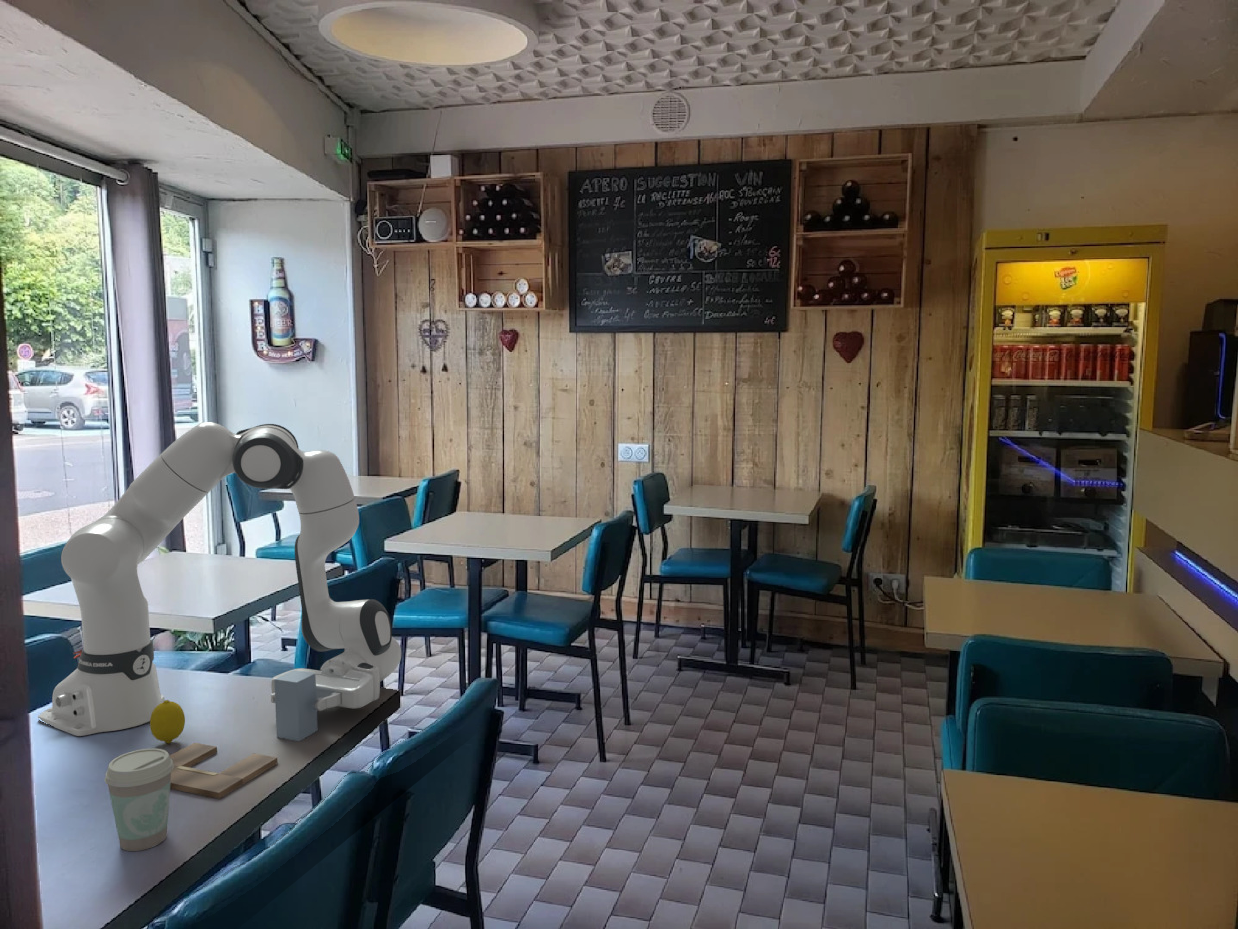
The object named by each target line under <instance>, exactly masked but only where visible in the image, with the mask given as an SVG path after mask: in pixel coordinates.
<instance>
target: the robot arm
mask: <svg viewBox="0 0 1238 929" xmlns="http://www.w3.org/2000/svg"><path fill="white" fill-rule="evenodd" d="M340 460H341V459H340V458H339V457H338V456H337V454H335V453H333V452H332V451H329V450H323V449H317V450H311V451H303V450H301V449H299V443H298V441H297V438H296V436H295V435H294V434H293V433H292V432H291V431H290V430H289V429H288V428H286V427H284V426H282V425H279V424H275V423H265V424H264V423H263V424H258V425H256V426H251V427H250V428H245V429H242V430H238V431H237V432H236V433H233V432H232V431H231V430H229V429H228V428H226V427H225V426H223V425H222V424H219V423H216V422H212V421H204V422H201V423H198V424H197V425H195V426H194V427H192V428H191V429H188V430H187V431H186V432H185V433H183V434H182V435H180V436H179V437H177V439H176V440H174V441H173V442H171V444H170V445H169V446H167V447H166V448H165V449H164V450H163V451H162V452H161V453H160V454H159V455H158V456H157V457H156V458H155V459H154V460H153V461H152V462H151V463H150V464H149V465H148V466H147V467H146V468H145V469H144V470H143V471H142V472H141V473H140V474H139V475H138V476H137V477H136V478H135V479H133V481H132V482H131V483H130V484H129V487H128V488H127V489H126V491H125V492H124V493H123V494H122V495H121V497H120V498H119V499H118V500H117V501H116V502H115V504H114V505H113V506H111V508H110V509H109V510H108V511H107V512H106V513H105V514H104V515H103V516H101V517H100V518H99V519H96V521H93V522H92V523H89V524H87V525H84V526H82V527H80V528H79V529H78V530H76V531H75V532H74V533H73V534H72V535H71V536H70V537H69V539H68V540H67V542H66V543H65V545H64V547H63V549H62V551H61V555H60V559H61V560H60V562H61V566H62V569H63V571H64V572H65V573H66V575H67V576H68V577H69V578H70V580H71V583H72V586H73V589H74V592H75V595H76V598H77V601H78V602H77V603H78V605H79V609H80V617H81V630H82V643H83V648H82V649H81V650H78V651H75V652H73V655H75V654H77V655H75V656H74V657H73V659H77V658H79V659H78V662H77V666H76V669H75V670H73V672H71V673H70V674H69V675H68V676H66V677H65V678H64V679H62V681H61V682H59V683H58V684H57V685H56V686H55V687H54V689H53V692H52V698H51V699H52V702H51V703H52V704H51V707H49V708H47V709H45V710H44V711H43V712H41V713H39V715H38V718H40V719H41V720H42V721H44V722H45V723H47V724H50V725H52V726H54V727H53V728H55V729H57V730H61V731H63V732H65V733H68V734H70V735H73V736H75V737H81V736H88V735H89V736H90V735H92V734H97V733H103V732H104V733H106V732H112V731H121V730H125V729H130V728H135V727H137V726H141V725H143V724H146V723H150V719H151V714H152V712H153V710H154V709H155V708H156V707H157V706H158V705H159V704H161V703H163V702H164V701H165V695H164V694H161V689H160V688H161V687H160V683H159V677H158V672H157V671H158V670H157V667H156V664H155V662H154V660H155V646H154V642H153V640H152V639H151V630H150V629H151V628H150V613H149V611H150V610H149V602H148V600H147V598H146V597H145V596H144V593H143V590H142V587H141V583H140V578H139V575H138V574H139V573H138V567H139V566H138V565H140V564H141V563H142V562H144V561H145V560H146V559H147V558H148V557H149V556H150V555H151V554H152V553H153V552H154V551H155V549H156V548H157V547H158V546H160V544H162V542H163V541H164V540H165V539H166V537H167V536H168V535H169V534H170V533H171V532H172V531H173V530H174V529H175V528H176V527H177V525H178V524H179V523H180V522H181V521H182V520H183V519H184V518H185V517H186V516H187V515H188V514H189V513H190V512H191V511H192V510H193V509H194V508H195V507H196V506H197V505H198V504H199V503H200V502H201V501H202V500H203V499H204V498H205V497H206V496H207V495H208V494H209V493H211V491H212V490H213V489H214V488H215V487H216V486H217V484H219V483H220V481H222V480H223V479H224V478H226V477H227V476H228V475H231V474H234V473H235V475H236V476H237V477H238V478H239V480H240V481H241V482H243V483H244V484H245V485H248V487H249V486H250V487H252V488H255V489H256V488H257V489H265V490H270V489H271V490H272V489H273V490H274V489H275V490H290V492H291V493H292V496H293V498H294V502H295V504H296V509H297V512H298V516H299V520H300V533H299V535H298V536H297V537H296V539H295V542H294V559H295V561H294V563H295V569H296V575H297V577H296V578H297V582H298V583H297V584H298V591H299V598H300V606H301V627H300V629H301V634H302V637H303V639H304V641H305V642H306V643H307V645H308V646H309V647H310V648H311V649H313V650H314V651H316V652H328V651H333V650H339V649H344V651H343V652H342V653H340V654H338V655H336V656H334V657H332V658H330V659H328V660H326V661H325V662H324V663H323V664H322V665H321V666H320V669H319V670H317V669H311V668H303V667H302V668H301V667H300V668H299V667H298V668H294V669H291V670H287V671H285V672H282V673H280V674H277V675H275V676H273V677H272V678H271V681H270V687H271V695H270V703H272V704H275V683H274V679H276V678H278V677H280V676H282V675H284V674H286V673H288V672H291V671H293V670H295V671H302V672H309V673H315V677H316V700H314V702H313V705H314V706H313V709H314V710H317V711H323V710H326V709H329V708H334V707H340V708H341V707H342V708H348V709H361V708H363V707H364V706H367V705H368V704H370V703H371V702H374V701H377V700H378V699H379V698H380V691H381V690H380V689H381V688H380V687H381V684H380V682H382V681H384V680H385V679H387V678H388V677H389V676H390V675H391V674H393V673H394V672H395V670H396V669H397V668H398V666H399V664H400V663H401V659H402V648H401V646H400V643H399V642H398V641H397V640H396V639H395V638H394V637H393V626H392V621H391V618H390V614H389V613H388V611H387V609H386V608H385V606H384V604H382V603H381V602H380V601H378V600H376V599H374V598H373V599H372V598H371V599H359V600H357V599H356V600H350V601H334V600H333V599H332V598H331V597H330V595H329V588H328V580H327V574H326V572H327V571H326V560H327V557H328V556H329V555H330V553H332V552H333V551H335V550H337V549H339V548H340V547H342V546H343V545H344V544H346V543H347V542H349V541H350V540H351V539H352V538H353V536H354V535H355V534H356V532H357V530H358V528H359V525H360V514H359V508H358V505H357V501H356V498H355V495H354V490H353V488H352V485H351V482H350V480H349V477H348V474H347V472H346V470H345V468H344V466H343V464H342V462H341V461H340ZM38 718H37V719H38ZM45 723H44V724H45ZM47 724H46V725H47ZM50 725H49V726H50ZM52 726H51V727H52Z"/></svg>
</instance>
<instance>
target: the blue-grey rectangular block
mask: <svg viewBox="0 0 1238 929" xmlns="http://www.w3.org/2000/svg"><path fill="white" fill-rule="evenodd" d="M292 670H293V669H292ZM274 683H275V703H274V704H275V705H274V706H275V728H276V729H275V730H276V738H277V737H279V739H283V738H285V740H290V741H295V742H300V741H302V740H304V739H305V737H306V738H307V737H309V736H311V735H312V734H314V733H316V732H318V710H314V709H313V706H314V705H313V702H314V700H316V677H315V673H309V672H302V671H295V670H293V671H291V672H288V673H286V674H284V675H282V676H280V677H278V678H276V679H274ZM315 731H316V732H315Z"/></svg>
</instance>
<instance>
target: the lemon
mask: <svg viewBox="0 0 1238 929" xmlns="http://www.w3.org/2000/svg"><path fill="white" fill-rule="evenodd" d="M185 717H186V716H185V713H184V710H183V708H182V706H181V705H179V703H177V702H176V701H175V702H174V701H170V700H169V699H166V700H165V701H164V702H163V703H161V704H159V705H158V706H157V707H156V708H155V709H154V710H153V712H152V714H151V719H150V721H149V727H150V732H151V734H152V736H153V737H154V738H155V739H156V740H158V741H160V742H164V743H165V744H172V742H173V741H174V740H175V739H177V738H178V737H179V736H180V735H181V734H182V733H183V730H184V728H185V724H186V718H185Z"/></svg>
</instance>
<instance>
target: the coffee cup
mask: <svg viewBox="0 0 1238 929" xmlns="http://www.w3.org/2000/svg"><path fill="white" fill-rule="evenodd" d="M173 768H174V765H173V761H172V759H171V758H170V754H169V752H168V751H167V750H165V749H163V748H143V749H137V750H133V751H130V752H125V753H123V754H120V755H119V756H116V757H114V758H113V759H112V760H111V761H110V762H109V763H108V767H107V770H106V771H105V774H104V782H105V784H106V785H107V787H108V792H109V797H110V801H111V802H110V803H111V807H112V812H113V817H114V822H115V826H116V832H117V837H118V841H119V846H120V848H121V850H123V851H128V852H140V851H144V850H145V851H146V850H148V849H151V848H154V847H156V846H158V845H160V844H161V843H163V841H164V840H165V839H166V838H167V835H168V834H167V833H168V825H169V823H168V822H169V808H170V793H171V789H170V783H171V771H172V770H173Z"/></svg>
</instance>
